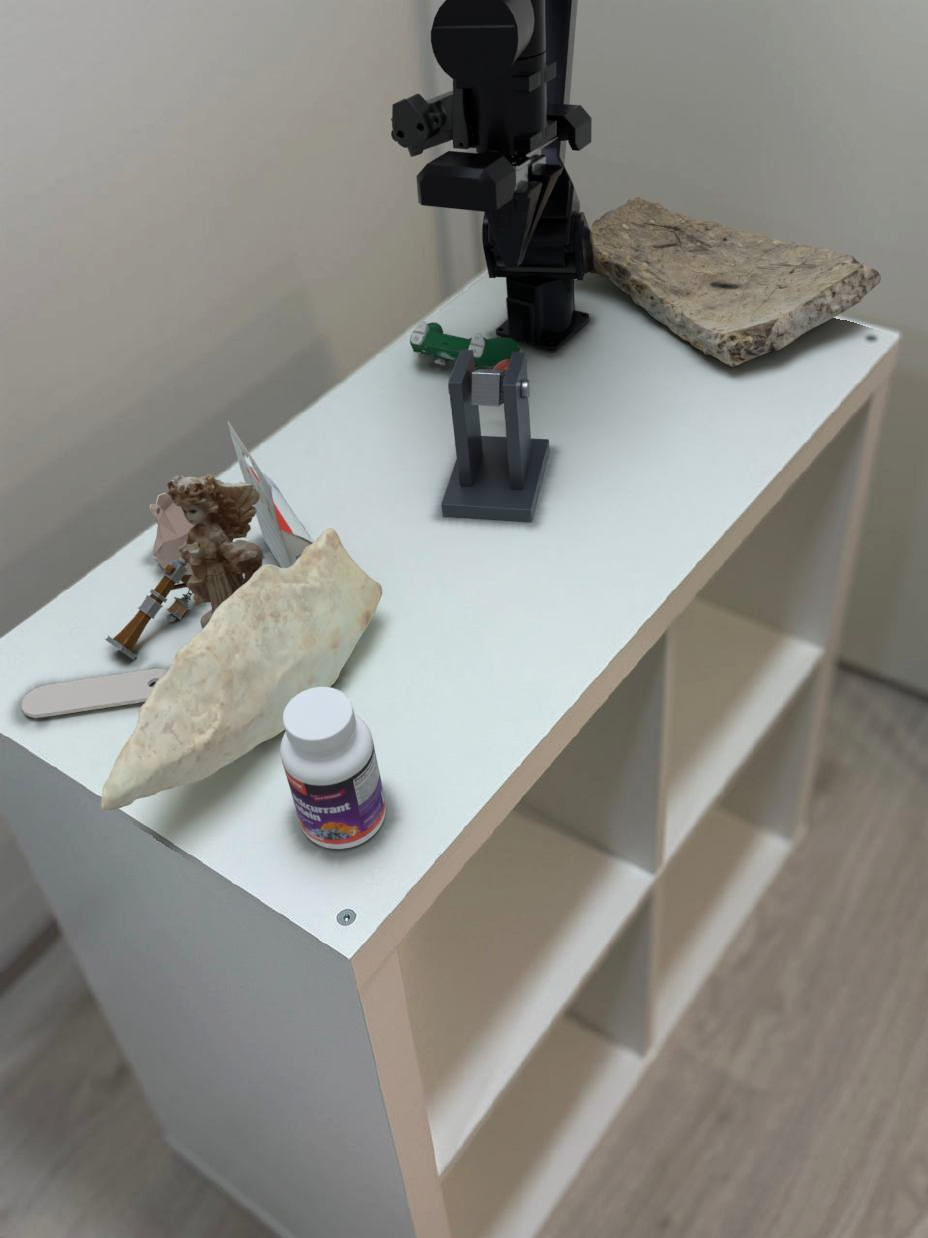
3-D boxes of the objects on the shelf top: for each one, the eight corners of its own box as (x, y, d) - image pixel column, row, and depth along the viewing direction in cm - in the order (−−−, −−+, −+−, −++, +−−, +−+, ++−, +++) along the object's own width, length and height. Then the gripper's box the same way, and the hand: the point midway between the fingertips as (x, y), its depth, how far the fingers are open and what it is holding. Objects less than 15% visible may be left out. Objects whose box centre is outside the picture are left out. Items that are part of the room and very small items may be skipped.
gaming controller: (423, 364, 116) (394, 349, 110) (434, 324, 115) (405, 307, 110) (512, 384, 112) (487, 370, 107) (524, 342, 112) (499, 326, 106)
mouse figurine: (220, 600, 92) (199, 530, 88) (141, 567, 96) (117, 498, 91) (264, 558, 95) (246, 488, 91) (186, 527, 99) (164, 459, 94)
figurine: (178, 669, 87) (119, 501, 77) (219, 611, 91) (167, 444, 81) (273, 690, 85) (224, 520, 75) (310, 630, 89) (269, 461, 78)
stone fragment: (767, 397, 105) (904, 301, 114) (774, 336, 101) (916, 240, 110) (529, 284, 120) (666, 207, 129) (527, 227, 116) (668, 151, 125)
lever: (493, 394, 103) (494, 356, 102) (529, 395, 102) (531, 358, 101) (465, 408, 93) (465, 367, 92) (504, 410, 92) (506, 369, 91)
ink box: (291, 526, 97) (262, 404, 89) (336, 597, 91) (309, 472, 83) (256, 539, 97) (224, 417, 89) (299, 611, 90) (268, 486, 82)
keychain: (174, 700, 85) (177, 671, 88) (172, 694, 85) (175, 665, 87) (20, 724, 85) (27, 694, 87) (17, 717, 85) (25, 688, 87)
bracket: (465, 446, 103) (453, 332, 96) (549, 450, 102) (544, 335, 94) (442, 516, 97) (427, 400, 90) (531, 522, 96) (524, 404, 88)
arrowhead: (268, 510, 87) (54, 757, 70) (342, 499, 84) (137, 756, 67) (328, 624, 92) (142, 881, 75) (400, 618, 89) (224, 885, 72)
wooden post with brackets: (219, 585, 92) (187, 556, 88) (153, 673, 91) (118, 649, 87) (203, 575, 93) (171, 546, 89) (138, 663, 92) (102, 638, 88)
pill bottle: (284, 838, 76) (252, 735, 70) (324, 772, 80) (297, 668, 73) (364, 862, 75) (339, 759, 68) (401, 793, 78) (380, 688, 71)
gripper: (463, 22, 99) (473, 219, 108) (341, 76, 86) (364, 296, 95) (594, 27, 95) (593, 231, 104) (488, 85, 81) (497, 314, 90)
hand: (512, 265), depth 98 cm, fingers closed
